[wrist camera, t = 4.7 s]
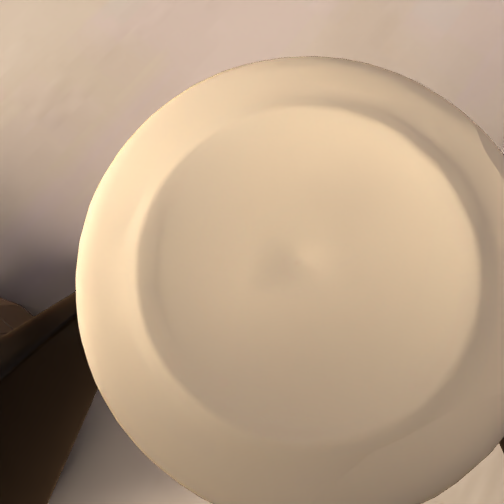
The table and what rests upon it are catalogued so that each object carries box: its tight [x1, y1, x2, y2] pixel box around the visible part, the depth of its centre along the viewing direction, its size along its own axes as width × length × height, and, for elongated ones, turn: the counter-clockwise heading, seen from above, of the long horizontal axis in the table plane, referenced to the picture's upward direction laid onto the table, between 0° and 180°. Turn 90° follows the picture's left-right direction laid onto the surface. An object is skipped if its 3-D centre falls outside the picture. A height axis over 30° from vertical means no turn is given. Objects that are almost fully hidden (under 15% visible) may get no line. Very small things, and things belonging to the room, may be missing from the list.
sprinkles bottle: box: [76, 56, 504, 504], centre depth 9 cm, size 5×5×13 cm
